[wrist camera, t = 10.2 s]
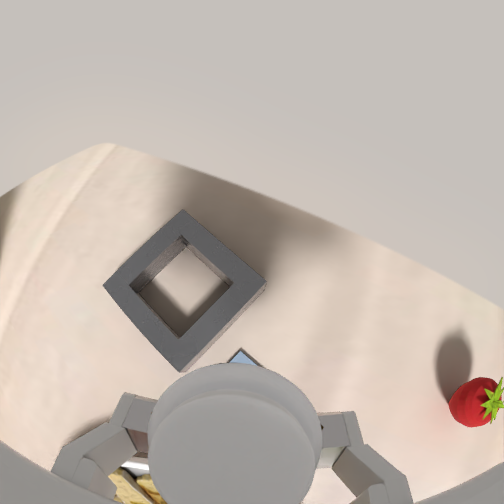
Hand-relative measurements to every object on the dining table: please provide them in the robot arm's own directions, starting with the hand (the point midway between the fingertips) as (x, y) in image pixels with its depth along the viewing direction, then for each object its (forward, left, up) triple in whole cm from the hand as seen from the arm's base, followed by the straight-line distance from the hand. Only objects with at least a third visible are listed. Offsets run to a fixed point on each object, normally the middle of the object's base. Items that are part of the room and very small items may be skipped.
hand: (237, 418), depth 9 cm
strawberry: (+23, +13, -18) cm, 32 cm away
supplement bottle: (0, -1, -6) cm, 6 cm away
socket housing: (-11, +3, -18) cm, 22 cm away
